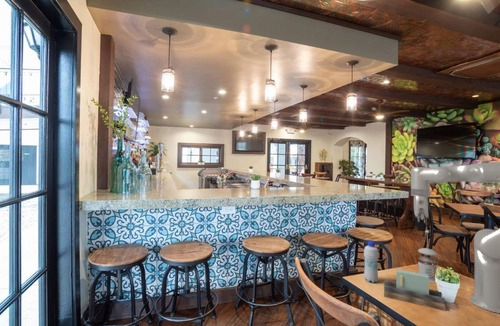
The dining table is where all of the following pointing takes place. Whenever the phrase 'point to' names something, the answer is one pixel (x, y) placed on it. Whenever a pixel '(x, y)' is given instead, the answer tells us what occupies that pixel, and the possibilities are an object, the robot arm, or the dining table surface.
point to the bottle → (371, 262)
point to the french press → (427, 262)
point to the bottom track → (414, 296)
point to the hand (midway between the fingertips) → (420, 228)
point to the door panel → (412, 281)
